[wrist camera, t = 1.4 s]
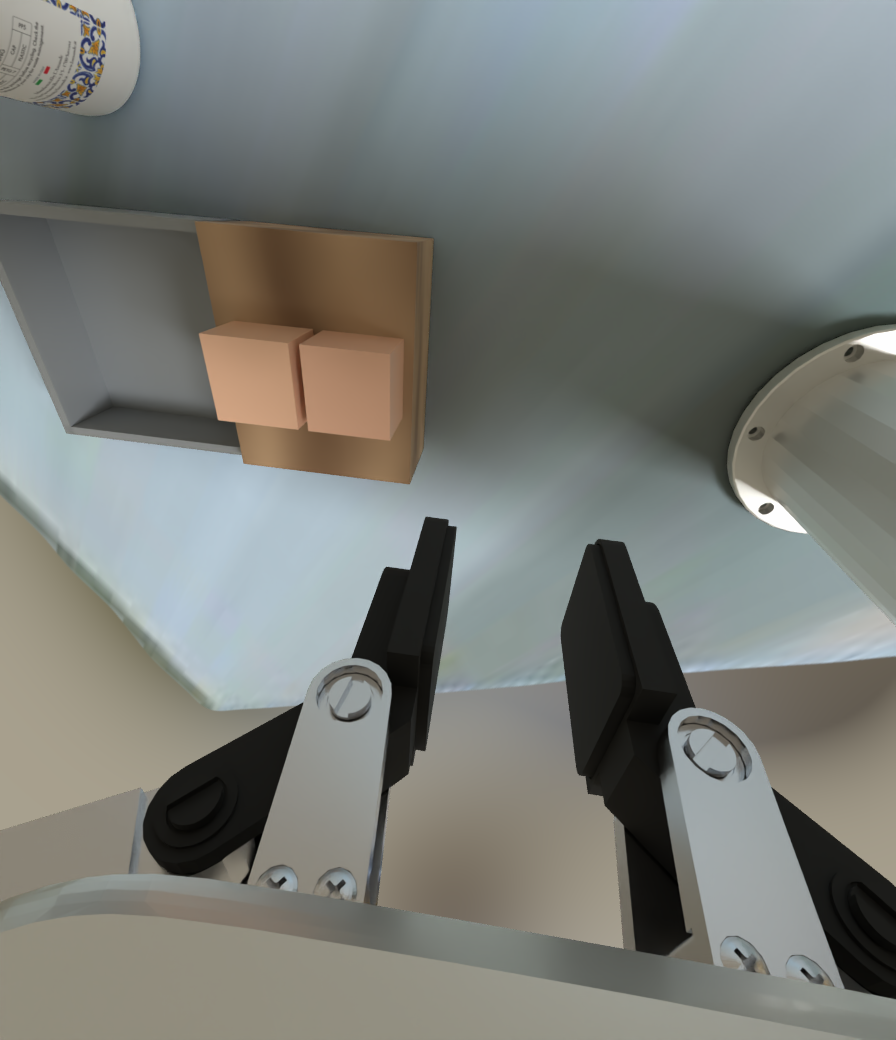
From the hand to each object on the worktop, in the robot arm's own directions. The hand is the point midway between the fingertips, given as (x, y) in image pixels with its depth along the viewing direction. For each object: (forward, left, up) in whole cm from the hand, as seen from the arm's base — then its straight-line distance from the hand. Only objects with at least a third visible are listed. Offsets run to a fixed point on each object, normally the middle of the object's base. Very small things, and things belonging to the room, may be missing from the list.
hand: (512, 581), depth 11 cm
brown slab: (+10, 0, -19) cm, 22 cm away
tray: (+21, 0, -19) cm, 29 cm away
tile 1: (+8, 0, -14) cm, 16 cm away
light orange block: (+12, 0, -14) cm, 19 cm away
